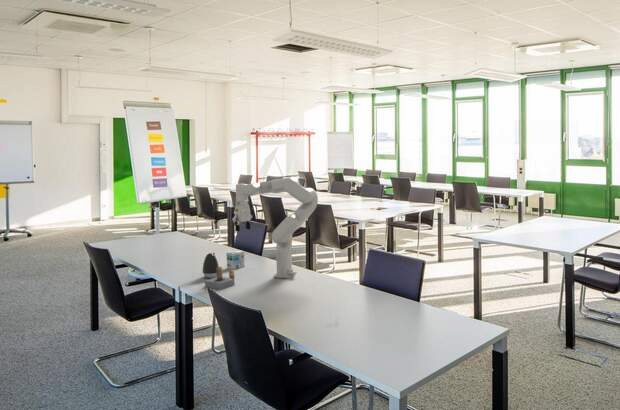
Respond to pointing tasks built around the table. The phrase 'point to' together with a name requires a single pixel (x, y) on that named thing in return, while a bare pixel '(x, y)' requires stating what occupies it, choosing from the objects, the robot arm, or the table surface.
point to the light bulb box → (235, 259)
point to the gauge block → (219, 283)
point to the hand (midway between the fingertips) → (242, 230)
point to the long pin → (219, 274)
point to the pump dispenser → (210, 266)
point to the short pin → (231, 274)
